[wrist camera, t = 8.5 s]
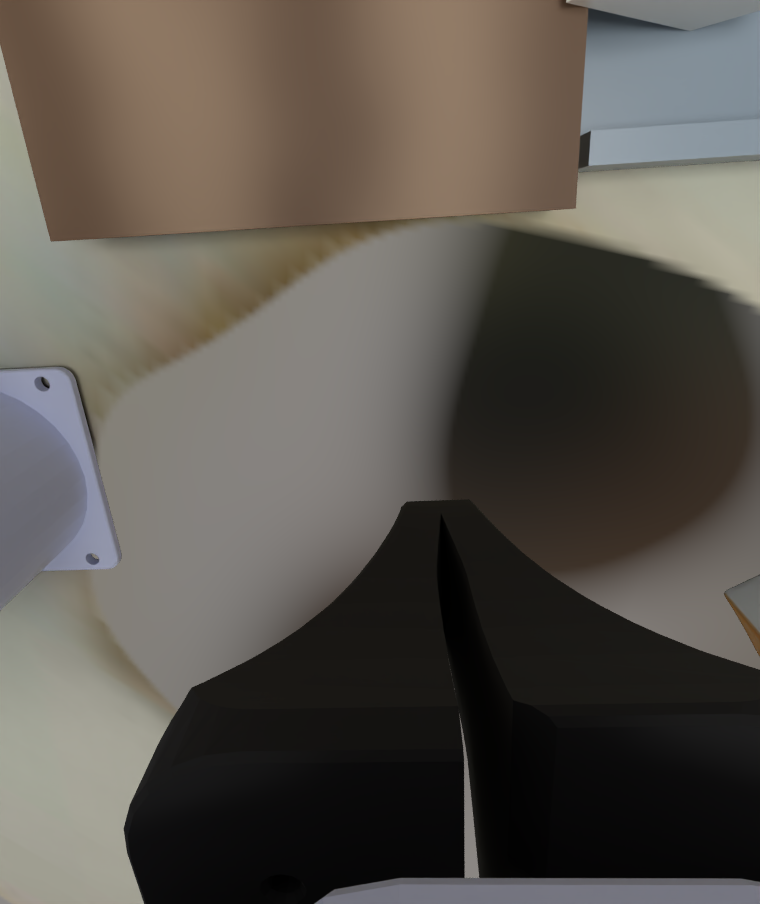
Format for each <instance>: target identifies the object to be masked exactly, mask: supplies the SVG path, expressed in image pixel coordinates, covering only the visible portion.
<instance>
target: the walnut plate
mask: <svg viewBox="0 0 760 904" xmlns="http://www.w3.org/2000/svg"><path fill="white" fill-rule="evenodd" d="M587 22H588V8H587V7H583V6H578V5H574V4H570V3H566V0H0V45H1V49H2V53H3V57H4V61H5V65H6V69H7V72H8V76H9V80H10V84H11V88H12V92H13V96H14V100H15V104H16V108H17V111H18V115H19V119H20V123H21V127H22V131H23V135H24V139H25V143H26V147H27V150H28V154H29V158H30V162H31V166H32V170H33V174H34V178H35V182H36V186H37V189H38V193H39V197H40V201H41V205H42V209H43V213H44V217H45V221H46V225H47V228H48V232H49V236H50V240H51V241H67V240H83V239H100V238H116V237H132V236H148V235H164V234H180V233H196V232H212V231H227V230H243V229H259V228H275V227H291V226H307V225H323V224H338V223H354V222H370V221H386V220H402V219H418V218H434V217H450V216H465V215H481V214H497V213H513V212H529V211H545V210H559V209H574V208H576V194H577V179H578V163H579V147H580V132H581V116H582V100H583V85H584V69H585V53H586V38H587Z"/></svg>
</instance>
